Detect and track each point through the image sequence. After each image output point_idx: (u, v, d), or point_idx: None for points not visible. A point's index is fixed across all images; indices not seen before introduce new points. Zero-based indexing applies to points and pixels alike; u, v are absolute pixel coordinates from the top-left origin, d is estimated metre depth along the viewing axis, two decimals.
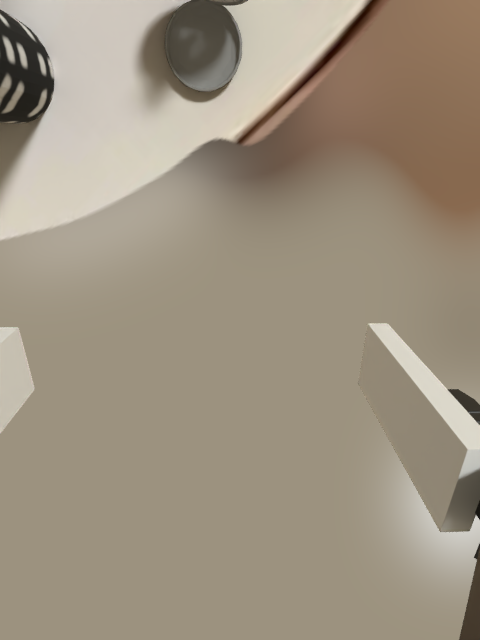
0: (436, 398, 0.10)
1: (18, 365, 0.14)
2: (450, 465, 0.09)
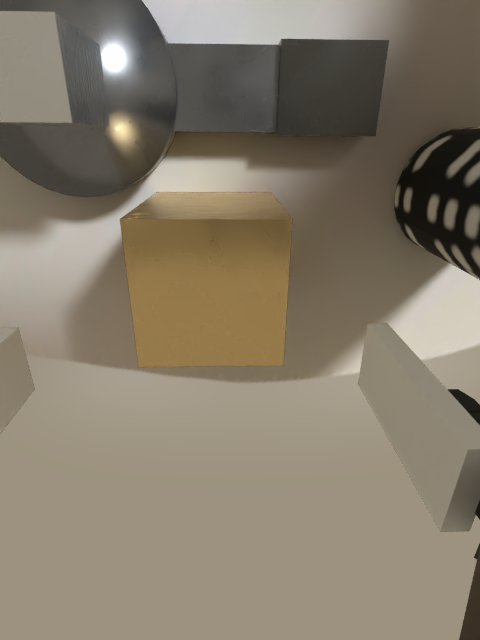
0: (436, 398, 0.10)
1: (18, 365, 0.14)
2: (450, 465, 0.09)
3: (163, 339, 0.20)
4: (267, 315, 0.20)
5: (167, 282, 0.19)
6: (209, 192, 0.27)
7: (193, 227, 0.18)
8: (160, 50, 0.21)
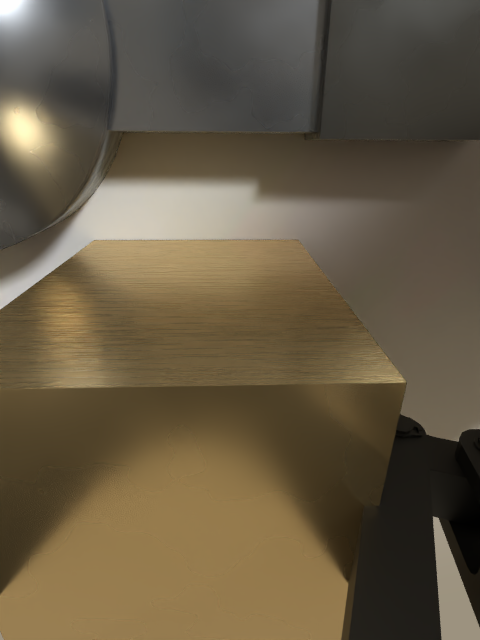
0: None
1: None
2: None
3: (67, 624, 0.09)
4: (317, 577, 0.08)
5: (60, 524, 0.07)
6: (188, 240, 0.15)
7: (117, 406, 0.06)
8: None
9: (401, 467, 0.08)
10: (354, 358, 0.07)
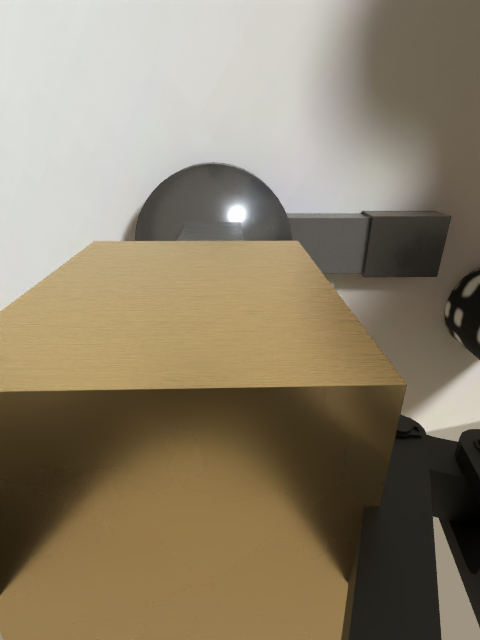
0: None
1: None
2: None
3: (67, 625, 0.09)
4: (317, 578, 0.08)
5: (60, 526, 0.07)
6: (188, 241, 0.15)
7: (117, 409, 0.06)
8: (284, 224, 0.29)
9: (401, 467, 0.08)
10: (354, 360, 0.07)
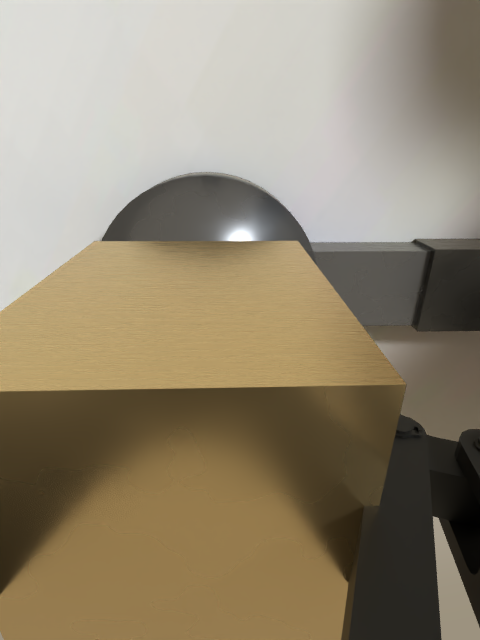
0: None
1: None
2: None
3: (67, 625, 0.09)
4: (317, 578, 0.08)
5: (60, 526, 0.07)
6: (188, 241, 0.15)
7: (117, 409, 0.06)
8: None
9: (401, 467, 0.08)
10: (354, 360, 0.07)
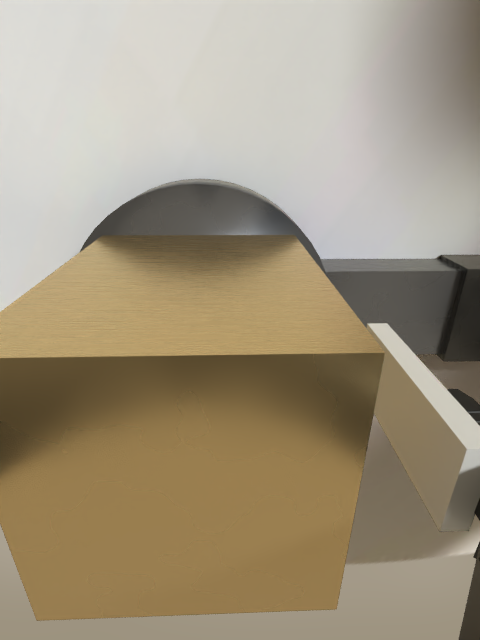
0: (436, 398, 0.10)
1: None
2: (449, 465, 0.09)
3: (83, 578, 0.09)
4: (309, 534, 0.09)
5: (80, 483, 0.08)
6: (191, 235, 0.16)
7: (133, 373, 0.07)
8: None
9: None
10: (340, 333, 0.08)
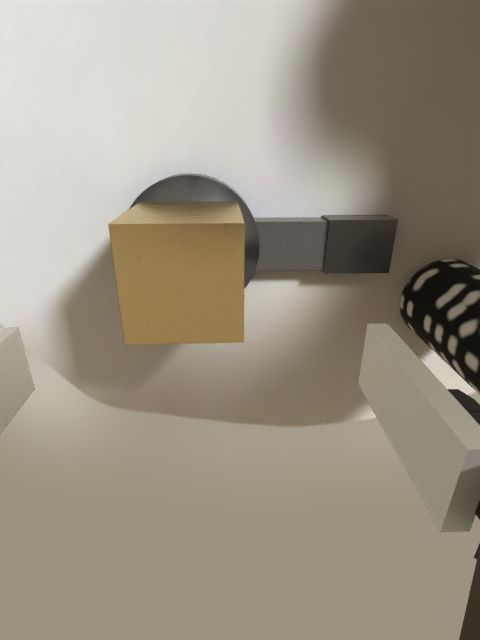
0: (436, 398, 0.10)
1: (18, 365, 0.14)
2: (450, 465, 0.09)
3: (144, 321, 0.25)
4: (228, 300, 0.25)
5: (147, 274, 0.24)
6: (185, 201, 0.32)
7: (166, 229, 0.23)
8: (252, 227, 0.33)
9: None
10: (233, 220, 0.23)
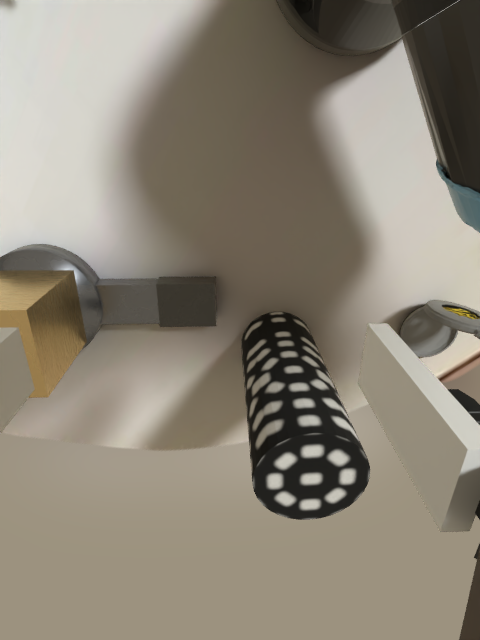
0: (436, 398, 0.10)
1: (18, 365, 0.14)
2: (450, 465, 0.09)
3: None
4: None
5: None
6: (29, 270, 0.38)
7: None
8: (90, 290, 0.39)
9: None
10: (22, 306, 0.29)
